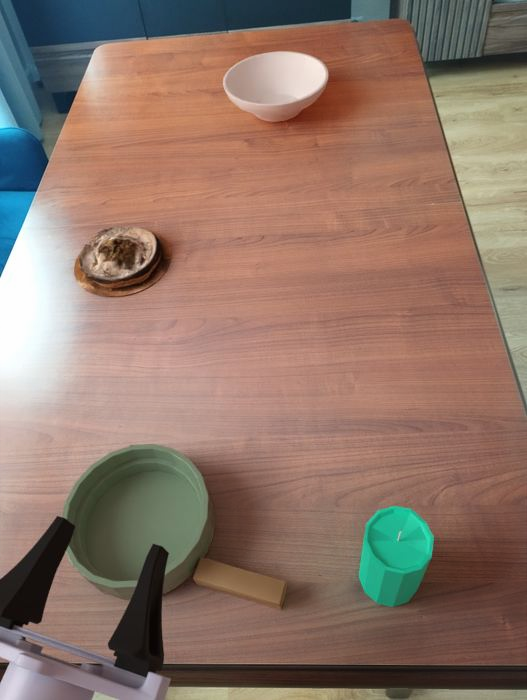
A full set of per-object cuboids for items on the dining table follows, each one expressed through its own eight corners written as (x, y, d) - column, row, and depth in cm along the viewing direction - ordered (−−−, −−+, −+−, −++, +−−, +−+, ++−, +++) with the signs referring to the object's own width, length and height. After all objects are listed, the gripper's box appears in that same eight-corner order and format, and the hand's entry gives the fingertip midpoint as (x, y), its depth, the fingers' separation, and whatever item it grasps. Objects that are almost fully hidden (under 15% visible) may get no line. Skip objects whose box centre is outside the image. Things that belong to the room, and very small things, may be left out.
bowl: (207, 119, 113) (201, 85, 108) (271, 75, 121) (269, 42, 116) (284, 152, 104) (282, 117, 99) (348, 102, 113) (350, 67, 107)
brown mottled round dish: (187, 241, 92) (182, 220, 89) (138, 308, 84) (130, 288, 81) (110, 221, 97) (102, 201, 93) (56, 283, 89) (45, 263, 85)
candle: (382, 619, 56) (394, 582, 47) (346, 565, 60) (350, 520, 50) (432, 585, 58) (452, 543, 48) (394, 534, 61) (406, 486, 52)
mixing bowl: (184, 620, 58) (174, 607, 54) (51, 577, 61) (32, 562, 57) (234, 481, 66) (228, 461, 62) (114, 452, 70) (102, 431, 66)
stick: (281, 610, 57) (279, 604, 56) (196, 584, 60) (192, 578, 58) (287, 587, 59) (285, 581, 57) (204, 563, 61) (200, 556, 59)
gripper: (104, 806, 30) (194, 546, 37) (-119, 712, 34) (0, 491, 40) (142, 793, 36) (214, 571, 43) (-51, 715, 40) (43, 521, 46)
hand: (112, 534), depth 42 cm, fingers open, 7 cm apart
